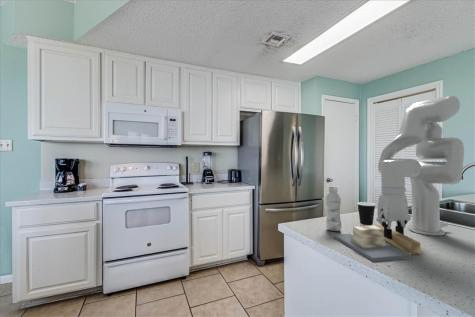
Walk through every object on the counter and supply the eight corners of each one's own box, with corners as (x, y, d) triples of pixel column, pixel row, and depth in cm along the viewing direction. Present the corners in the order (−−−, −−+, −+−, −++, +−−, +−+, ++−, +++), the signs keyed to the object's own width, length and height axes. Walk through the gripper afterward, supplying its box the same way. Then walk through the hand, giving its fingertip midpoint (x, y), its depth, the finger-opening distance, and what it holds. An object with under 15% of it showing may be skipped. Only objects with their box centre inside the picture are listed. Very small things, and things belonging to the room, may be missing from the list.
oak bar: (382, 233, 96) (381, 224, 96) (420, 254, 76) (420, 242, 76) (373, 233, 96) (372, 224, 96) (409, 254, 76) (408, 242, 76)
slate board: (363, 235, 95) (363, 232, 95) (410, 258, 73) (410, 254, 73) (333, 237, 93) (333, 234, 93) (372, 261, 71) (372, 257, 71)
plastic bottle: (343, 233, 97) (342, 188, 97) (327, 232, 99) (326, 188, 99) (339, 228, 104) (339, 186, 104) (324, 228, 105) (324, 186, 105)
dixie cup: (378, 228, 103) (378, 205, 103) (360, 228, 105) (360, 205, 105) (371, 223, 111) (371, 202, 111) (354, 223, 113) (354, 201, 113)
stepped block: (371, 239, 87) (371, 224, 87) (385, 246, 80) (385, 229, 80) (350, 240, 86) (350, 225, 86) (363, 248, 79) (363, 231, 79)
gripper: (403, 188, 90) (404, 232, 91) (366, 190, 88) (367, 235, 88) (421, 191, 83) (421, 239, 83) (381, 193, 81) (382, 243, 81)
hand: (393, 237), depth 86 cm, fingers closed on oak bar, 4 cm apart
